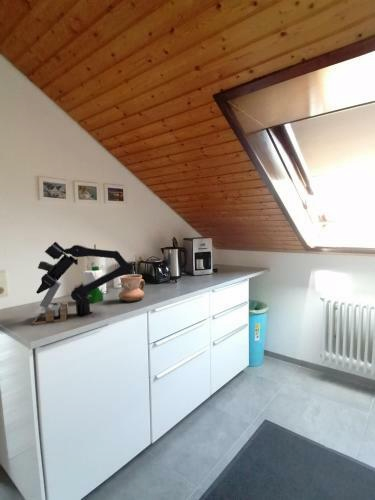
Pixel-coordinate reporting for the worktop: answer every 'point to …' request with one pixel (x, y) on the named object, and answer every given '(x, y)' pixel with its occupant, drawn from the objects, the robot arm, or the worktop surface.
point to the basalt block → (50, 295)
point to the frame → (50, 315)
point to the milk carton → (90, 276)
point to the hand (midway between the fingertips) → (38, 291)
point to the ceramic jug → (131, 287)
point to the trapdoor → (51, 307)
